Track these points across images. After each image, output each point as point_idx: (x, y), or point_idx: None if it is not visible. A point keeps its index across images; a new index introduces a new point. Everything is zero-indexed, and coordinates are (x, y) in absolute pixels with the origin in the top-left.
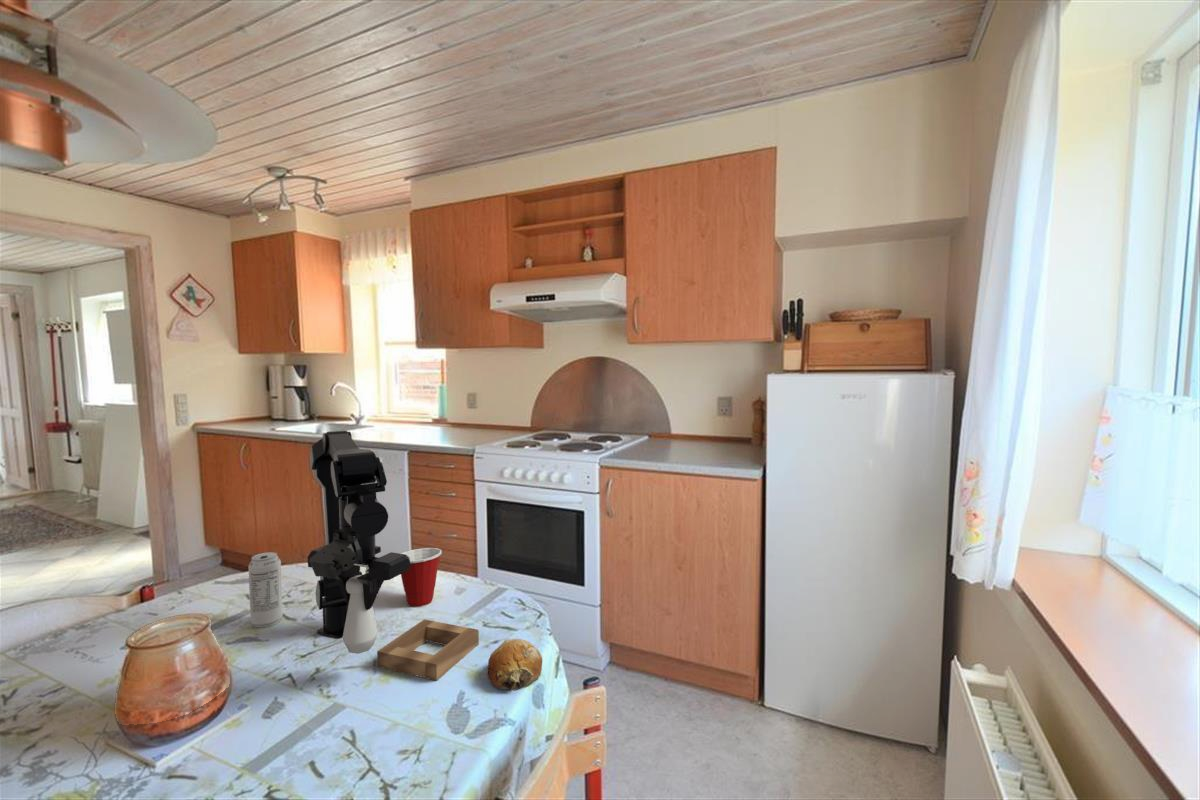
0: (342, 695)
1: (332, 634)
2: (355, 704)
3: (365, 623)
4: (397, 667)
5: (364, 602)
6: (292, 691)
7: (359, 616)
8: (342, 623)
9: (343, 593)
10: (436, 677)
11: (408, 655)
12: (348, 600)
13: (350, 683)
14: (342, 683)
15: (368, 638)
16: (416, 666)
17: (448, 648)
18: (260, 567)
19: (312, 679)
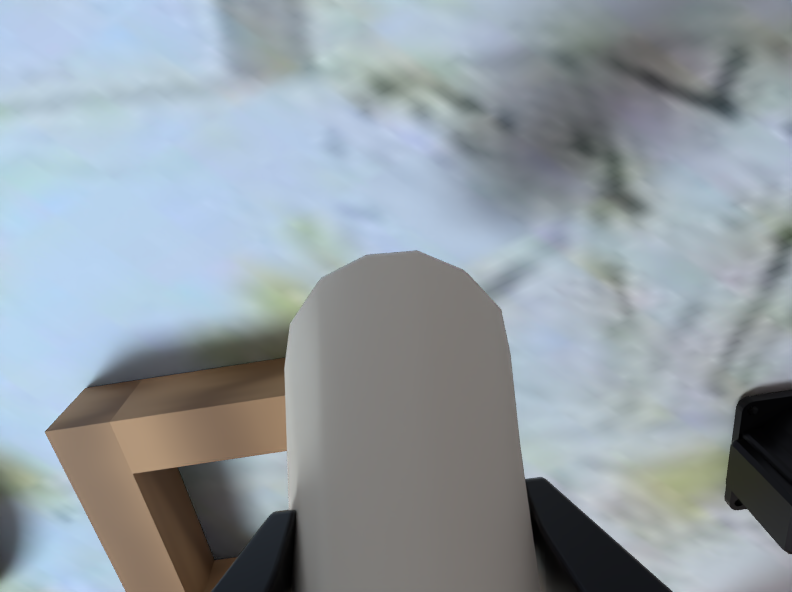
0: (334, 125)
1: (787, 397)
2: (216, 110)
3: (293, 408)
4: (283, 366)
5: (272, 573)
6: (587, 20)
7: (313, 422)
8: (786, 455)
9: (647, 585)
10: (78, 395)
11: (227, 421)
12: (541, 525)
13: (388, 205)
14: (421, 187)
15: (287, 350)
16: (172, 396)
17: (128, 529)
18: None
19: (582, 137)
